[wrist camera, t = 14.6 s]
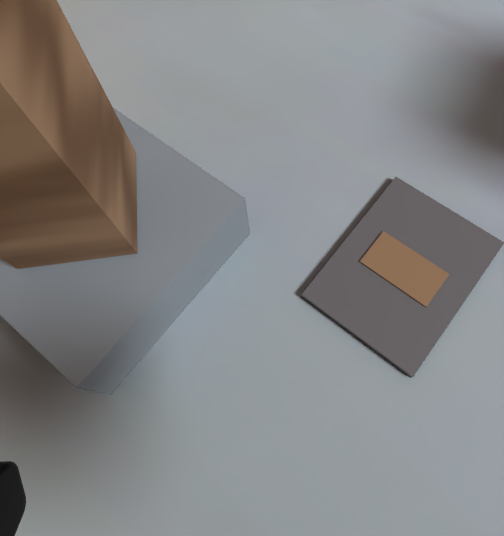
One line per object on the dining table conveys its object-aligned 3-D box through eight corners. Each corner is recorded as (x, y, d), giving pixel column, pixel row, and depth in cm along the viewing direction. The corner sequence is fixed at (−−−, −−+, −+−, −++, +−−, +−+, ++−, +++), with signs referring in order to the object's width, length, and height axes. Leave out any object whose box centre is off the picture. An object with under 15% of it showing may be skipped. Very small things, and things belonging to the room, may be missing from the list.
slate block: (113, 395, 20) (76, 387, 16) (-21, 269, 22) (-81, 238, 19) (250, 237, 22) (244, 198, 19) (114, 139, 25) (85, 88, 21)
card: (411, 377, 19) (413, 376, 19) (301, 296, 21) (301, 293, 20) (501, 245, 21) (505, 242, 21) (394, 179, 22) (396, 175, 22)
